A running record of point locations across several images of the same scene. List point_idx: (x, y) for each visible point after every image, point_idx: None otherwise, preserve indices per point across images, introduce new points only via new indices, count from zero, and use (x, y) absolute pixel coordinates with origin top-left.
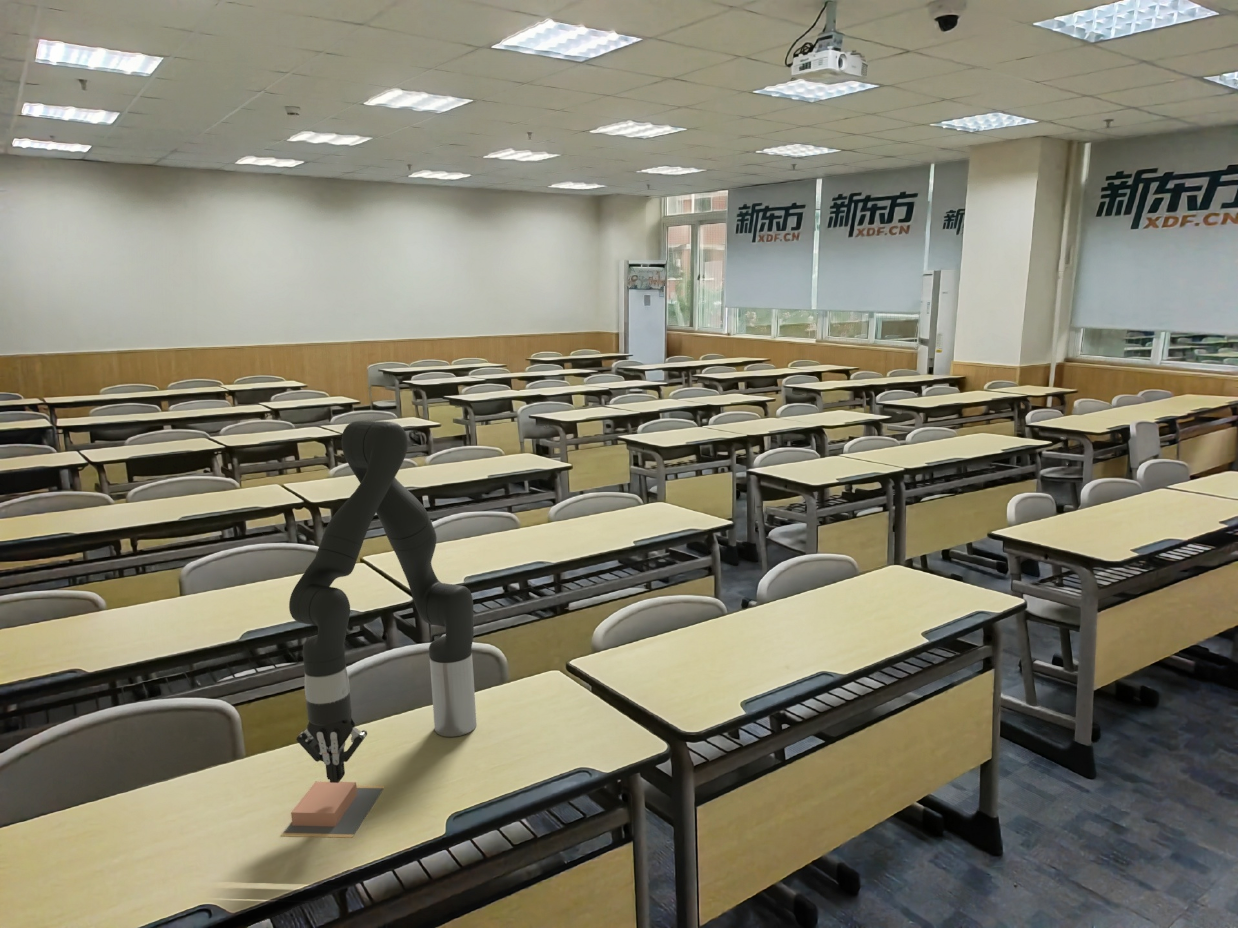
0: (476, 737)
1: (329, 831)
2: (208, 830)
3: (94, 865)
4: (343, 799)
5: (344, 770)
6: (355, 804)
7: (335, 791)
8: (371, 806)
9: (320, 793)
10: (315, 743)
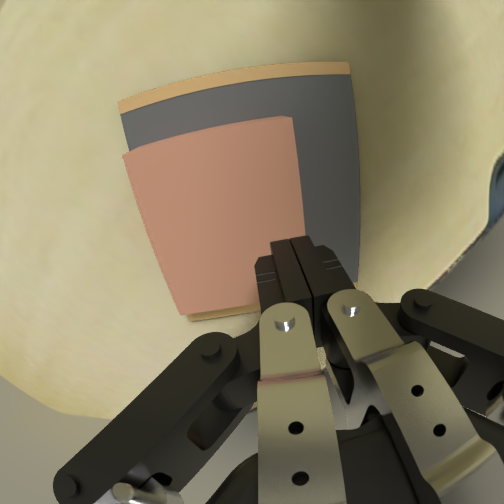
0: None
1: None
2: (45, 310)
3: (26, 369)
4: (303, 230)
5: (337, 260)
6: (306, 169)
7: (244, 192)
8: (357, 170)
9: (195, 216)
10: (183, 446)
